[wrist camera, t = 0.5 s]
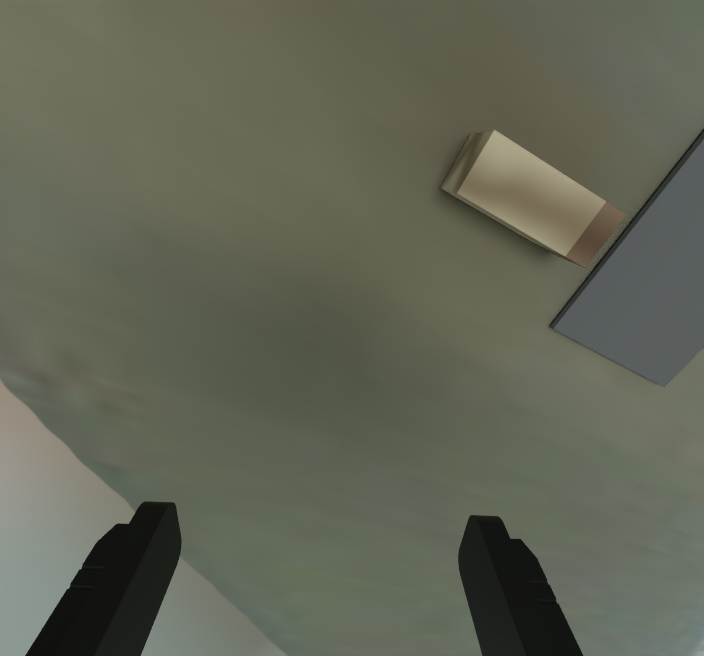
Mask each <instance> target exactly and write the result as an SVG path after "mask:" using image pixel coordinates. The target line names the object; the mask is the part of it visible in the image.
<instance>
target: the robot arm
mask: <svg viewBox="0 0 704 656" xmlns="http://www.w3.org/2000/svg"><path fill="white" fill-rule="evenodd" d="M180 551H181V534H180V528H179V522H178V516H177V510H176V505H175V503H172V502H143V503H142V504H141V505H140V506H139V508H138V509H137V511H136V513H135V514H134V516H133V518H132V520H131V521H130V523H129V524H116V525H115V526H114V527H113V528H112V529H111V530H110V531H108V532H107V533H106V534H105V535H104V536H103V537H102V538H101V539H100V540H99V541H98V542H97V543H96V544H95V546H94V547H93V549H92V550H91V552H90V554H89V555H88V557H87V558H86V560H85V562H84V563H83V566H82V569H81V570H79V571H78V573H77V574H76V576H75V578H74V579H73V581H72V582H71V584H70V588H69V589H67V590H66V592H65V593H64V595H63V597H62V598H61V600H60V602H59V603H58V605H57V606H56V608H55V609H54V611H53V613H52V614H51V616H50V617H49V619H48V620H47V622H46V624H45V625H44V627H43V628H42V630H41V632H40V633H39V635H38V637H37V638H36V640H35V641H34V643H33V644H32V646H31V648H30V649H29V651H28V652H27V654H26V655H25V656H141V653H142V651H143V648H144V646H145V643H146V641H147V638H148V636H149V633H150V631H151V628H152V626H153V624H154V621H155V619H156V616H157V614H158V611H159V608H160V606H161V603H162V601H163V599H164V596H165V593H166V591H167V589H168V586H169V584H170V581H171V579H172V576H173V574H174V571H175V568H176V566H177V563H178V560H179V556H180ZM458 563H459V571H460V576H461V579H462V583H463V587H464V590H465V594H466V597H467V601H468V605H469V608H470V612H471V616H472V619H473V623H474V626H475V630H476V634H477V637H478V641H479V645H480V648H481V652H482V655H483V656H583V654H582V652H581V650H580V648H579V646H578V644H577V641H576V639H575V637H574V635H573V633H572V631H571V629H570V627H569V625H568V623H567V620H566V618H565V616H564V614H563V612H562V610H561V608H560V606H559V604H557V602H556V597H555V595H554V593H553V591H552V589H551V587H550V585H548V583H547V578H546V576H545V574H544V572H543V570H542V568H541V566H540V564H539V562H538V559H537V558H536V557H535V555H534V554H533V553H532V552H531V551H530V550H529V548H528V547H527V546H526V545H525V544H524V543H523V541H522V540H521V539H510V537H509V535H508V532H507V530H506V528H505V525H504V523H503V521H502V520H501V518H500V517H498V516H478V515H471V516H470V517H469V519H468V522H467V526H466V529H465V532H464V535H463V538H462V542H461V545H460V548H459V554H458Z"/></svg>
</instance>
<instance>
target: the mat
mask: <svg viewBox="0 0 704 656" xmlns="http://www.w3.org/2000/svg"><path fill="white" fill-rule="evenodd" d="M550 327H551V328H553V329H554V330H556V331H558V332H560V333H562V334H564V335H566V336H567V337H569V338H571V339H573V340H575V341H577V342H579V343H581V344H583V345H585V346H586V347H588V348H590V349H592V350H594V351H596V352H598V353H600V354H602V355H604V356H605V357H607V358H609V359H611V360H613V361H615V362H617V363H619V364H621V365H623V366H624V367H626V368H628V369H630V370H632V371H634V372H636V373H638V374H640V375H642V376H644V377H645V378H647V379H649V380H651V381H653V382H655V383H657V384H659V385H661V386H663V387H665V386H666V385H667V384H668V383H669V382H670V381H671V380H672V379H673V378H674V377H675V376H676V375H677V374H678V373H679V372H680V371H681V370H682V369H683V368H684V367H685V366H686V365H687V364H688V363H689V362H690V361H691V360H692V359H693V358H694V357H695V356H696V355H697V354H698V353H699V352H700V351H701V350H702V349H703V348H704V132H703V133H702V134H701V135H700V137H699V138H698V139H697V140H696V142H695V143H694V144H693V146H692V147H691V148H690V149H689V151H688V152H687V153H686V154H685V156H684V157H683V158H682V159H681V161H680V162H679V163H678V165H677V166H676V167H675V168H674V170H673V171H672V172H671V173H670V175H669V176H668V177H667V179H666V180H665V181H664V182H663V184H662V185H661V186H660V187H659V189H658V190H657V191H656V192H655V194H654V195H653V196H652V198H651V199H650V200H649V201H648V203H647V204H646V205H645V206H644V208H643V209H642V210H641V212H640V213H639V214H638V215H637V217H636V218H635V219H634V220H633V222H632V223H631V224H630V225H629V227H628V228H627V229H626V231H625V232H624V233H623V234H622V236H621V237H620V238H619V239H618V241H617V242H616V243H615V245H614V246H613V247H612V248H611V250H610V251H609V252H608V253H607V255H606V256H605V257H604V258H603V260H602V261H601V262H600V264H599V265H598V266H597V267H596V269H595V270H594V271H593V272H592V274H591V275H590V276H589V278H588V279H587V280H586V281H585V283H584V284H583V285H582V286H581V288H580V289H579V290H578V291H577V293H576V294H575V295H574V297H573V298H572V299H571V300H570V302H569V303H568V304H567V305H566V307H565V308H564V309H563V311H562V312H561V313H560V314H559V316H558V317H557V318H556V319H555V321H554V322H553V323H552V324H551V326H550Z"/></svg>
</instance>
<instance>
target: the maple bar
mask: <svg viewBox="0 0 704 656" xmlns="http://www.w3.org/2000/svg"><path fill="white" fill-rule="evenodd" d="M440 189H442V190H444V191H445V192H447V193H449V194H451V195H452V196H454V197H456V198H457V199H459V200H461V201H463V202H464V203H466V204H468V205H470V206H471V207H473V208H475V209H476V210H478V211H480V212H482V213H483V214H485V215H487V216H488V217H490V218H492V219H494V220H495V221H497V222H499V223H501V224H502V225H504V226H506V227H507V228H509V229H511V230H513V231H514V232H516V233H518V234H520V235H521V236H523V237H525V238H526V239H528V240H530V241H532V242H533V243H535V244H537V245H538V246H540V247H542V248H544V249H545V250H547V251H549V252H551V253H552V254H555V255H557V256H559V257H561V258H564V259H566V260H568V261H570V262H573V263H575V264H577V265H579V266H581V267H584V268H585V267H586V266H587V265H588V264H589V262H590V261H591V260H592V258H593V257H594V256H595V255H596V253H597V252H598V251H599V249H600V248H601V247H602V246H603V244H604V243H605V242H606V240H607V239H608V238H609V237H610V235H611V234H612V233H613V231H614V230H615V229H616V228H617V226H618V225H619V224H620V222H621V221H622V220H623V219H624V217H625V216H626V214H625V213H623V212H622V211H620V210H618V209H617V208H615V207H614V206H612V205H611V204H609V203H608V202H606V201H604V200H603V199H601V198H600V197H598V196H597V195H595V194H594V193H592V192H590V191H589V190H587V189H586V188H584V187H583V186H581V185H580V184H578V183H576V182H575V181H573V180H572V179H570V178H569V177H567V176H566V175H564V174H562V173H561V172H559V171H558V170H556V169H555V168H553V167H552V166H550V165H549V164H547V163H545V162H544V161H542V160H541V159H539V158H538V157H536V156H535V155H533V154H531V153H530V152H528V151H527V150H525V149H524V148H522V147H521V146H519V145H517V144H516V143H514V142H513V141H511V140H510V139H508V138H507V137H505V136H503V135H502V134H500V133H499V132H497V131H496V130H491V131H485V132H480V133H475V134H471V135H470V136H469V138H468V140H467V142H466V143H465V145H464V147H463V149H462V150H461V152H460V154H459V156H458V157H457V159H456V161H455V163H454V164H453V166H452V168H451V170H450V171H449V173H448V175H447V177H446V178H445V180H444V182H443V184H442V185H441V187H440Z"/></svg>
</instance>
